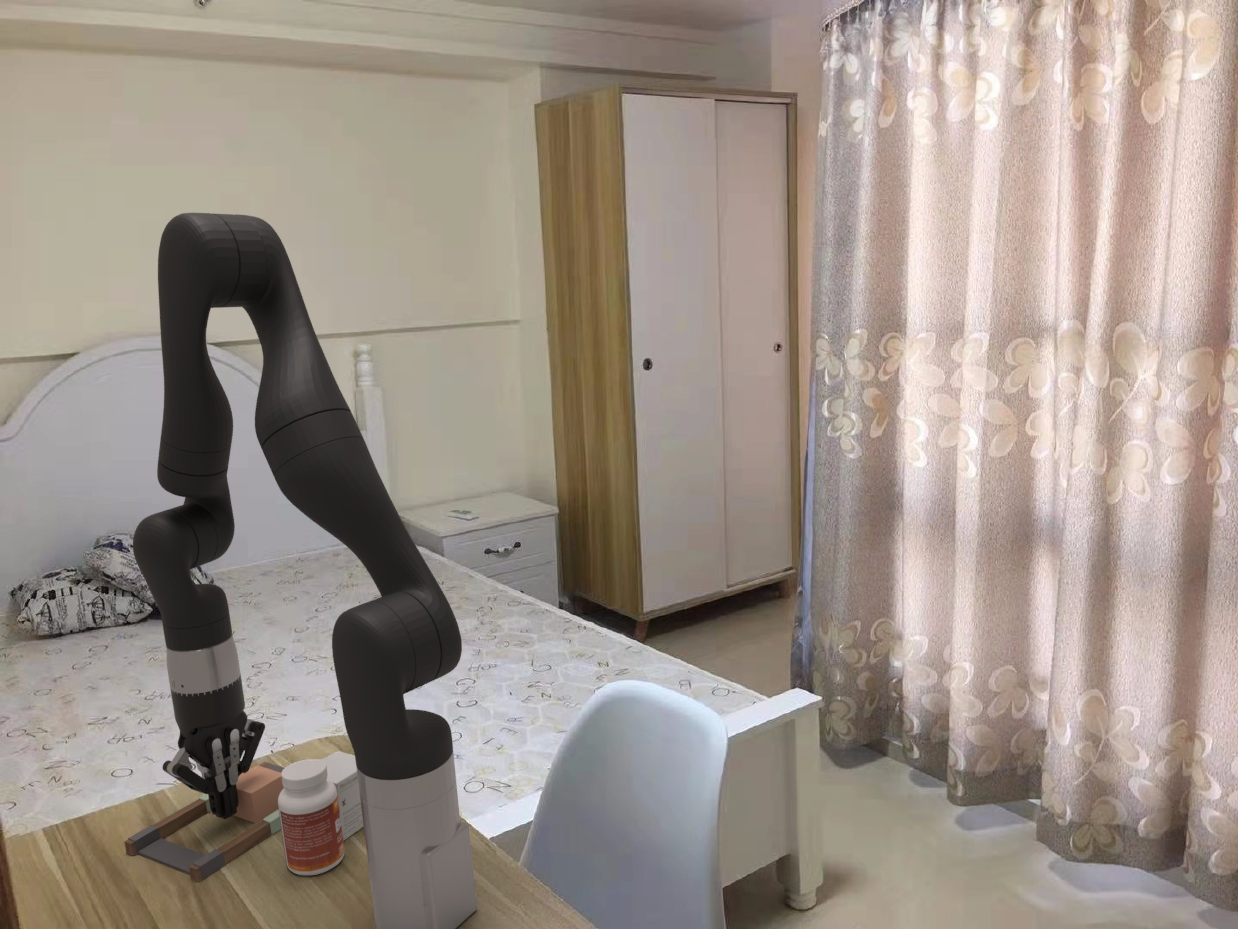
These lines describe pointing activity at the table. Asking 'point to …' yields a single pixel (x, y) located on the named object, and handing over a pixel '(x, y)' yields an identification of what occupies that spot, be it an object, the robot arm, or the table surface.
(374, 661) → the robot arm
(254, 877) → the table surface
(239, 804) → the terracotta block
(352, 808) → the product box
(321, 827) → the pill bottle
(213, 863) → the frame
